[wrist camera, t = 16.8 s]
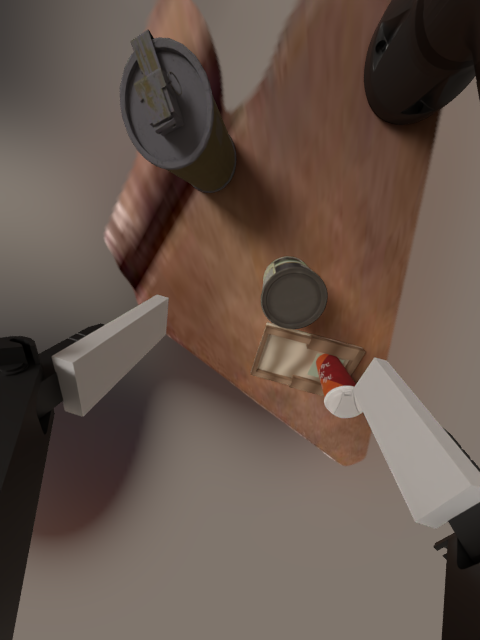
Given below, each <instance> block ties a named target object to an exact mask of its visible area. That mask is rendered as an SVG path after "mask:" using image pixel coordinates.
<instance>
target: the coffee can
mask: <svg viewBox="0 0 480 640" xmlns="http://www.w3.org/2000/svg"><path fill="white" fill-rule="evenodd" d="M326 303H327V289H326V286H325V284H324V282H323V280H322V279H321V278H320V277H319V276H318V275H317V274H316V273H315V272H313V271H312V270H311V269H310V268H308V267H307V266H306V264H305V263H304V262H303V261H301V260H300V259H298V258H295V257H291V256H286V257H281V258H278V259H276V260H275V261H273V262H272V263H271V264H270V265H269V266H268V267H267V269H266V271H265V273H264V277H263V290H262V294H261V306H262V310H263V312H264V314H265V316H266V317H267V318H268V319H269V320H270V321H271V322H272V323H273V324H275V325H277V326H279V327H282V328H286V329H299V328H303V327H306V326H308V325H310V324H311V323H313V322H314V321H316V320H317V319H318V318H319V317H320V316H321V314H322V313H323V311H324V309H325V307H326Z"/></svg>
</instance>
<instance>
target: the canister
mask: <svg viewBox="0 0 480 640" xmlns="http://www.w3.org/2000/svg"><path fill="white" fill-rule="evenodd" d="M131 45H132V47H133V50H134V52H133V54H132V55H131V56H130V58H129V60H128V61H127V64H126V66H125V68H124V72H123V77H122V81H121V85H120V107H121V113H122V118H123V121H124V124H125V127H126V130H127V133H128V136H129V137H130V139H131V141H132V143H133V144H134V146H135V147H136V149H137V150H138V152H139V153H140V154H141V155H142V156H143V157H144V158H145V159H146V160H148V161H149V162H151V163H152V164H154V165H156V166H158V167H160V168H163V169H166V170H168V171H170V172H171V173H173V174H175V175H177V176H178V177H180V178H182V179H183V180H185V181H187V182H188V183H190V184H191V185H192V186H193V187H195V188H196V189H198V190H200V191H202V192H206V193H213V192H217V191H219V190H221V189H223V188H224V187H225V186H226V185H227V184H228V183H229V182H230V180H231V179H232V176H233V174H234V171H235V167H236V151H235V147H234V143H233V141H232V139H231V137H230V136H229V134H228V132H227V130H226V127H225V125H224V122H223V120H222V117H221V115H220V113H219V110H218V108H217V105H216V103H215V100H214V98H213V95H212V91H211V87H210V83H209V80H208V78H207V75H206V73H205V71H204V69H203V67H202V65H201V63H200V62H199V60H198V59H197V58H196V56H195V55H194V54H193V53H192V52H191V51H190V50H189V49H188V48H187V47H185V46H184V45H183V44H181V43H179V42H177V41H175V40H172V39H170V38H155V39H154V38H153V36H152V35H151V33H150V31H149V30H146V31H145V32H143V33H142V34H141V35H139V36H138V37H137V38H135V39H133V40H132V41H131Z"/></svg>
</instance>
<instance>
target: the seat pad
mask: <svg viewBox="0 0 480 640" xmlns="http://www.w3.org/2000/svg"><path fill="white" fill-rule="evenodd" d="M320 355H322V354H319V353H317V355H316V357H315V359H314V361H313V363H312V365H311V367H310V370H309V372H308V375H311V376H315V377H319V375H318V371H317V366H316V360H317V358H318V357H319V356H320ZM339 360H340V361H341V363H342V364H343V363H344V361H345V360H341V359H339Z"/></svg>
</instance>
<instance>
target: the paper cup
mask: <svg viewBox="0 0 480 640" xmlns="http://www.w3.org/2000/svg"><path fill="white" fill-rule="evenodd" d="M316 366H317V371H318V375H319V378H320V382H321V386H322V390H323V394H324V397H325V399H324V404H325V406H326V408H327V409H328V410H329V411H330V412H331V413H332V414H333V415H335V416H337V417H340V418H352V417H355V416H357V415H359V414H361V413H362V412H363V411H362V409H361V407H360V404H359V402H358V400H357V398H356V396H355V394H354V392H353V388H354V387H355V385H356V384H355V382H354V381H353V379H352V378H351V376H350V375H349V373H348V372H347V370H346V369H345V367H344V366H343V364H342V363H341V361H340V360H339V359H338V357H336V356H333V355H329V354H322V355H320V356H319V357H318V358H317V360H316Z"/></svg>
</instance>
